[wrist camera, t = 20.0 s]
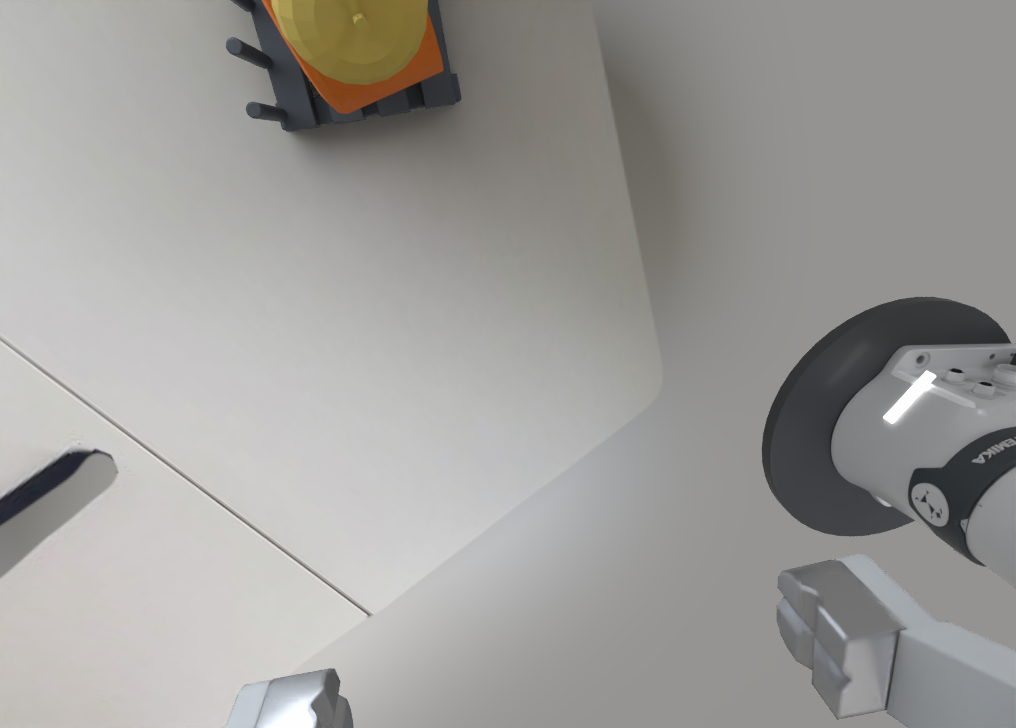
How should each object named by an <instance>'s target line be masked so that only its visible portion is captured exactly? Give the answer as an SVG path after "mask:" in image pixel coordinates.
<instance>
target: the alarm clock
mask: <svg viewBox="0 0 1016 728" xmlns="http://www.w3.org/2000/svg"><path fill="white" fill-rule="evenodd" d="M262 2H263V4H264V5H265V7H266V9H267V11H268V13H269V14H270V16H271V18H272V20H273V21H274V23H275V25H276V27H277V28H278V30H279V32H280V34H281V36H282V37H283V39H284V40H285V42H286V44H287V45H288V47H289V48H290V50H291V52H292V53H293V55H294V57H295V58H296V60H297V61H298V63H299V65H300V66H301V68H302V69H303V71H304V73H305V74H306V75H307V77H308V78H309V80H310V81H311V82H312V84H313V85H314V87H315V88H316V89H317V91H318V92H319V93H320V95H321V96H322V97H323V98H324V99H325V100H326V101H327V102H328V104H329V105H330V106H332V107H333V108H334V109H335V110H336V111H337V112H338V113H343V114H349V113H351V112H353V111H355V110H358V109H360V108H362V107H364V106H367V105H369V104H371V103H373V102H375V101H378V100H380V99H382V98H384V97H387V96H389V95H391V94H393V93H395V92H398V91H400V90H402V89H404V88H407V87H409V86H411V85H413V84H415V83H418V82H420V81H422V80H424V79H427V78H429V77H431V76H433V75H436V74H438V73H440V72H442V71H443V63H442V57H441V53H440V50H439V46H438V43H437V39H436V36H435V32H434V29H433V26H432V23H431V19H430V16H429V13H428V10H427V9H428V0H262Z"/></svg>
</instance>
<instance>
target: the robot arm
mask: <svg viewBox="0 0 1016 728" xmlns="http://www.w3.org/2000/svg"><path fill="white" fill-rule="evenodd" d="M831 455H832V460H833V463H834V466H835V468H836V469H837V471H838V472H839V474H840V475H841V476H842V477H843V478H844V479H846V480H847V481H849V482H850V483H852V484H855V485H857V486H859V487H861V488H863V489H865V490H867V491H869V493H870V494H871V495H872V497H873V498H874V499H875V500H876V501H878V502H879V503H881V504H883V505H884V506H887V507H891V506H893V507H895V508H896V509H898V510H899V511H901V512H903V513H904V514H906V515H907V516H909V517H910V518H912V519H914V520H915V521H917V522H919V523H920V524H922V525H924V526H925V527H927V528H928V529H930V530H931V531H933V532H934V533H935V534H936V535H937V536H938V537H939V538H941V539H942V540H943V541H945V542H946V543H947V544H949V545H950V546H951V547H952V548H954V550H955V551H956V552H958V553H959V554H960V555H962V556H965V557H966V558H968V559H969V560H971V561H972V562H974V563H976V564H978V565H981V566H985V567H988V568H989V569H990V570H992V571H993V572H994V573H996V574H997V575H998V576H1000V577H1001V578H1002V579H1004V580H1005V581H1006V582H1008V583H1009V584H1010V585H1011V586H1013V587H1014V588H1015V589H1016V343H1001V344H945V345H906V346H903V347H901V348H899V349H898V350H897V351H896V352H895V353H894V354H893V356H892V357H891V358H890V360H889V361H888V362H887V364H886V365H885V367H884V368H883V370H882V371H881V372H880V373H879V374H878V375H877V376H876V377H875V378H874V379H873V380H871V381H870V382H869V383H868V384H866V385H865V386H864V387H863V388H862V389H861V390H860V391H859V392H857V393H856V395H855V396H854V397H853V398H852V399H851V400H850V401H849V403H848V404H847V405H846V407H845V408H844V410H843V411H842V413H841V415H840V417H839V419H838V421H837V423H836V425H835V428H834V431H833V435H832V441H831ZM778 589H779V590H780V591H781V593H782V594H783V595H784V597H783V598H782V600H781V601H780V602H779V604H778V605H777V623H778V626H779V629H780V633H781V636H782V638H783V640H784V642H785V644H786V646H787V648H788V650H789V651H790V652H791V654H792V656H793V657H794V658H795V660H796V661H797V662H799V663H801V664H802V665H804V666H806V667H808V668H810V669H811V670H812V685H813V686H814V687H815V689H816V690H817V692H818V693H819V695H820V696H821V697H822V699H823V700H824V702H825V703H826V704H827V706H828V707H829V709H830V710H831V711H832V713H833V714H834V716H835V717H836V719H837V720H838V719H843V718H848V717H853V716H858V715H864V714H869V713H874V712H878V711H884V710H887V714H889V715H891V716H892V717H893V718H895V719H896V720H898V721H899V722H901V723H902V724H904V725H905V726H907V727H908V728H1016V650H1013V649H1011V648H1009V647H1006V646H1004V645H1001V644H999V643H997V642H995V641H993V640H990V639H988V638H986V637H983V636H981V635H978V634H976V633H974V632H972V631H969V630H967V629H965V628H963V627H960V626H958V625H956V624H953V623H951V622H949V621H943V622H938V621H937V620H935V619H934V618H933V617H932V616H931V615H930V614H929V613H928V612H927V611H926V610H925V609H924V608H923V607H922V606H921V605H920V604H918V603H917V602H916V601H915V600H914V599H913V598H912V597H911V596H910V595H909V594H908V593H907V592H906V591H905V590H904V589H903V588H902V587H900V586H899V585H898V584H897V583H896V582H895V581H894V580H893V579H892V578H891V577H890V576H889V575H887V573H886V572H885V571H883V570H882V569H881V568H880V567H879V566H878V565H877V564H876V563H875V562H874V561H873V560H872V559H871V558H870V557H868V556H866V555H864V554H857V555H852V556H848V557H843V558H838V559H835V560H828V561H824V562H819V563H815V564H810V565H806V566H802V567H797V568H793V569H788V570H784V571H782V572H781V573H780V575H779V576H778ZM339 687H340V680H339V677H338V675H337V673H336V671H335V669H331V668H330V669H324V670H319V671H314V672H308V673H303V674H297V675H292V676H287V677H281V678H276V679H273V680H267V681H262V682H257V683H252V684H247V685H244V687H243V688H242V689H241V691H240V692H239V693H238V695H237V697H236V700H235V703H234V705H233V708H232V711H231V714H230V716H229V719H228V722H227V725H226V727H225V728H353V719H352V714H351V709H350V706H349V703H348V701H347V699H346V698H344V697H342V696H340V695H339V694H338V693H339Z"/></svg>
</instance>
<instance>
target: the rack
mask: <svg viewBox="0 0 1016 728" xmlns="http://www.w3.org/2000/svg"><path fill="white" fill-rule="evenodd" d="M231 1H232V2H234V3H235V4H237V5H238V6H239V7H241V8H242V9H244V10H245V11H247V12H251V14H252V17H253V21H254V24H255V28H256V31H257V34H258V38H259V41H260V45H261V48H262V51H263V52H261V51H259V50H257V49H255V48H254V47H252V46H250V45H248V44H246V43H244V42H242V41H241V40H239V39H237V38H234V37H232V38H229V39H228V40H227V42H226V48H227V50H228V51H229V53H231V54H232V55H235V56H237V57H239V58H241V59H244V60H246V61H248V62H250V63H253V64H255V65H257V66H260V67H262V68H264V69H267V68H268V72H269V75H270V79H271V82H272V85H273V89H274V92H275V96H276V99H277V102H278V103H277V104H276V107H274V106H270V105H265V104H261V103H256V102H250V103H248V104H247V106H246V111H247V114H248V115H249V116H250V117H252V118H256V119H264V120H271V121H279V122H281V126H282V129H283V130H286V131H287V132H294V131H300V130H306V129H312V128H318V127H320V126H321V125H323V124H328V123H333V124H341V123H347V122H353V121H359V120H365V119H366V117H369V116H375V115H380V116H388V115H394V114H400V113H406V112H410V109H416V108H422V107H425V109H429V108H435V107H441V106H446V105H452V104H455V102H457V101H460V100H461V95H460V89H459V83H458V78H457V74H451V73H450V68H449V62H448V56H447V51H446V45H445V40H444V34H443V29H442V23H441V17H440V12H439V6H438V1H437V0H428V9H427V10H428V13H429V16H430V19H431V23H432V26H433V29H434V32H435V36H436V39H437V43H438V46H439V50H440V53H441V57H442V63H443V71H442V72H440V73H438V74H436V75H433V76H431V77H429V78H427V79H424V80H422V81H420V82H418V83H415V84H413V85H411V86H409V87H407V88H404V89H402V90H400V91H398V92H395V93H393V94H391V95H389V96H387V97H384V98H382V99H380V100H378V101H375V102H373V103H371V104H369V105H367V106H364V107H362V108H360V109H358V110H355V111H353V112H351V113H349V114H343V113H338V112H337V111H336V110H335V109H334V108H333V107H332V106H330V105H329V104H328V102H327V101H326V100H325V99H324V98H323V97H322V96H319V97H313V95H312V92H311V88H310V84H309V81H308V77H307V75H306V74H305V73H304V71H303V69H302V68H301V66H300V65H299V63H298V61H297V60H296V58H295V57H294V55H293V53H292V52H291V50H290V48H289V47H288V45H287V44H286V42H285V40H284V39H283V37H282V36H281V34H280V32H279V30H278V28H277V27H276V25H275V23H274V21H273V20H272V18H271V16H270V14H269V13H268V11H267V9H266V7H265V5H264V4H263V2H262V0H231Z"/></svg>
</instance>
